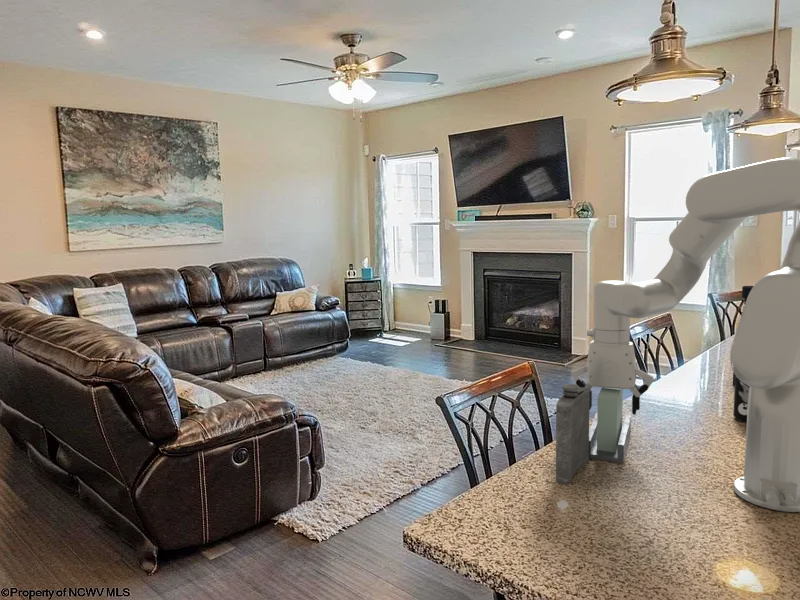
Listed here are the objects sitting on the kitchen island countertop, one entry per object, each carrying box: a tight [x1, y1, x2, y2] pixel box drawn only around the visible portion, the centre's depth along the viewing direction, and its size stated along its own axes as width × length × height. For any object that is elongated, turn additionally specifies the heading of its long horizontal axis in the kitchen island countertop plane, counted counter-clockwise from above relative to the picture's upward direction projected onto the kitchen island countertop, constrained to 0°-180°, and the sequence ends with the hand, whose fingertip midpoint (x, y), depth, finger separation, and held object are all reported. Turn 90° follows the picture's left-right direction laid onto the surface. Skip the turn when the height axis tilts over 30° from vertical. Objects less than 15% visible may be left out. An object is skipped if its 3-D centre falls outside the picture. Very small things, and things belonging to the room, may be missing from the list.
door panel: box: [596, 387, 624, 452], centre depth 131 cm, size 14×4×12 cm, turn 154°
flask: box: [555, 383, 591, 485], centre depth 117 cm, size 4×14×18 cm, turn 145°
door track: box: [589, 411, 632, 464], centre depth 131 cm, size 20×8×4 cm, turn 154°
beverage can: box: [733, 376, 750, 424], centre depth 144 cm, size 7×7×12 cm
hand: (611, 410), depth 130 cm, fingers open, 9 cm apart
